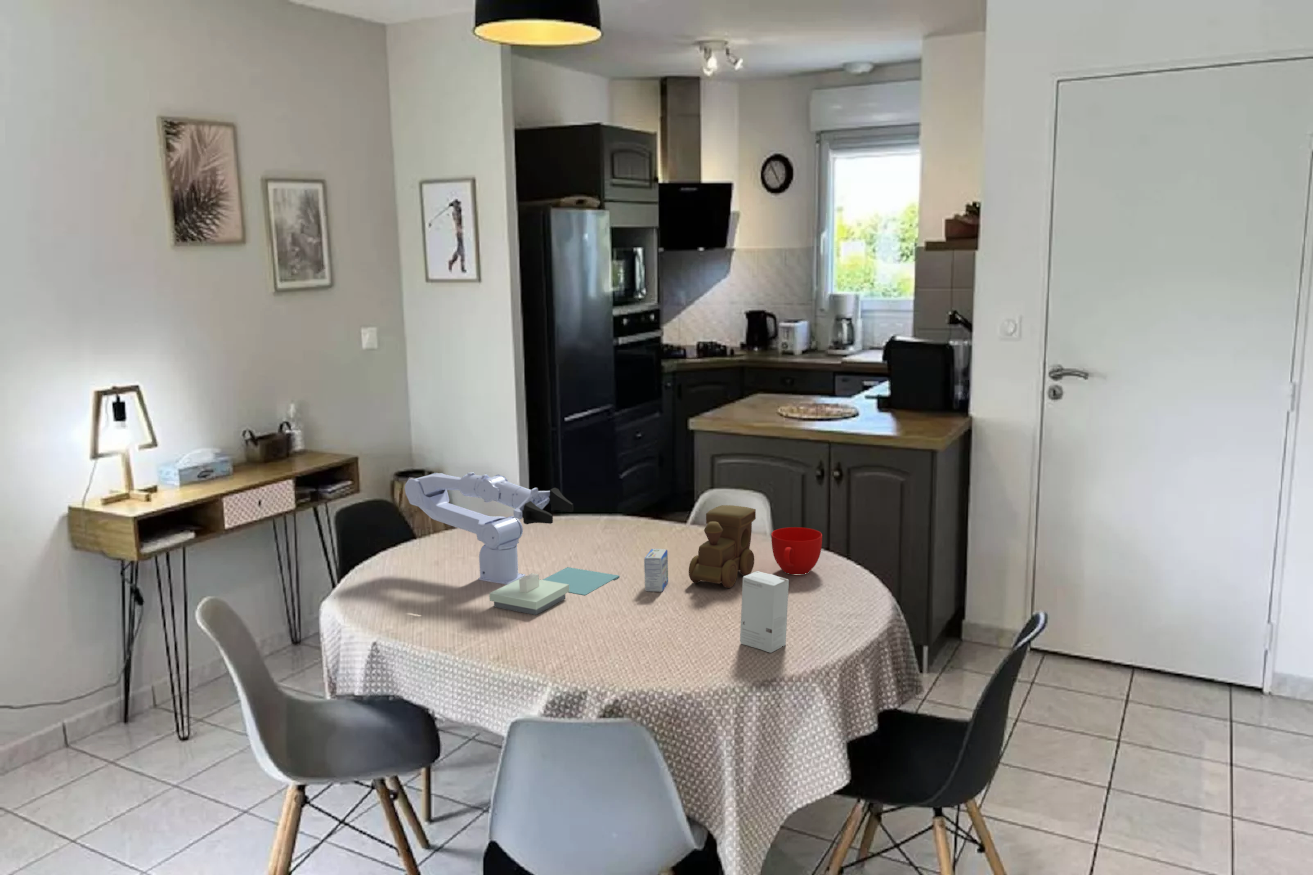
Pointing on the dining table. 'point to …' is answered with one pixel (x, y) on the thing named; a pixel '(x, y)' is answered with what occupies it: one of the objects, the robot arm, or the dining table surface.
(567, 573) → the mat
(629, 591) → the dining table surface
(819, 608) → the dining table surface
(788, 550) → the ceramic cup
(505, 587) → the lid
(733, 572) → the wooden toy train
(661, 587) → the medicine box
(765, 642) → the skincare box
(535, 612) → the tub
